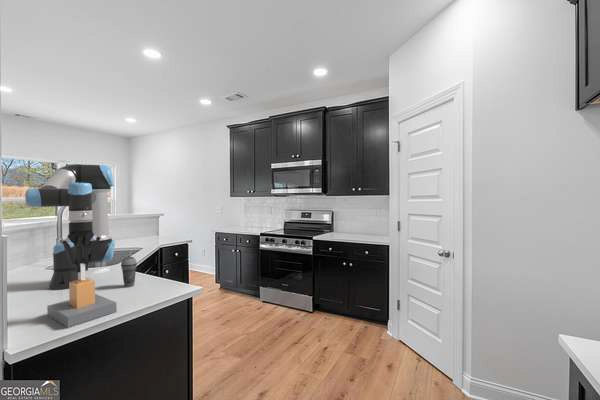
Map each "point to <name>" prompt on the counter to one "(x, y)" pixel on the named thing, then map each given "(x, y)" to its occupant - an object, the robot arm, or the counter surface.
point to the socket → (81, 311)
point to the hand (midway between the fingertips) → (81, 279)
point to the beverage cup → (129, 270)
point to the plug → (82, 293)
